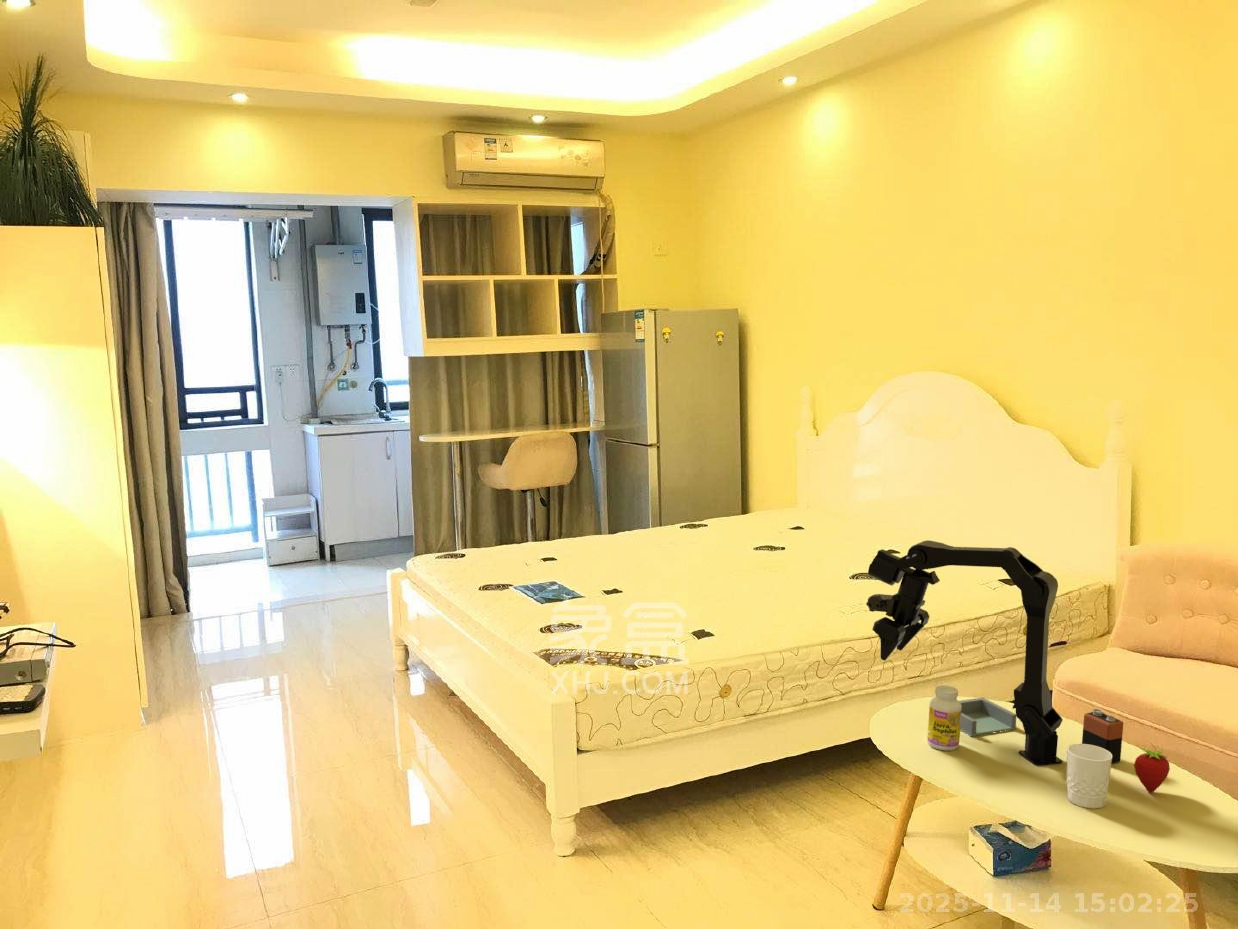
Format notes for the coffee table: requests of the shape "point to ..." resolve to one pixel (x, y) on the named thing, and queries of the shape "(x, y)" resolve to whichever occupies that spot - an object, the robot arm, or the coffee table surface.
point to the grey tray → (985, 717)
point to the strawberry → (1151, 769)
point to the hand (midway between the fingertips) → (891, 654)
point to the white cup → (1088, 775)
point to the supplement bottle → (944, 719)
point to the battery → (1103, 732)
